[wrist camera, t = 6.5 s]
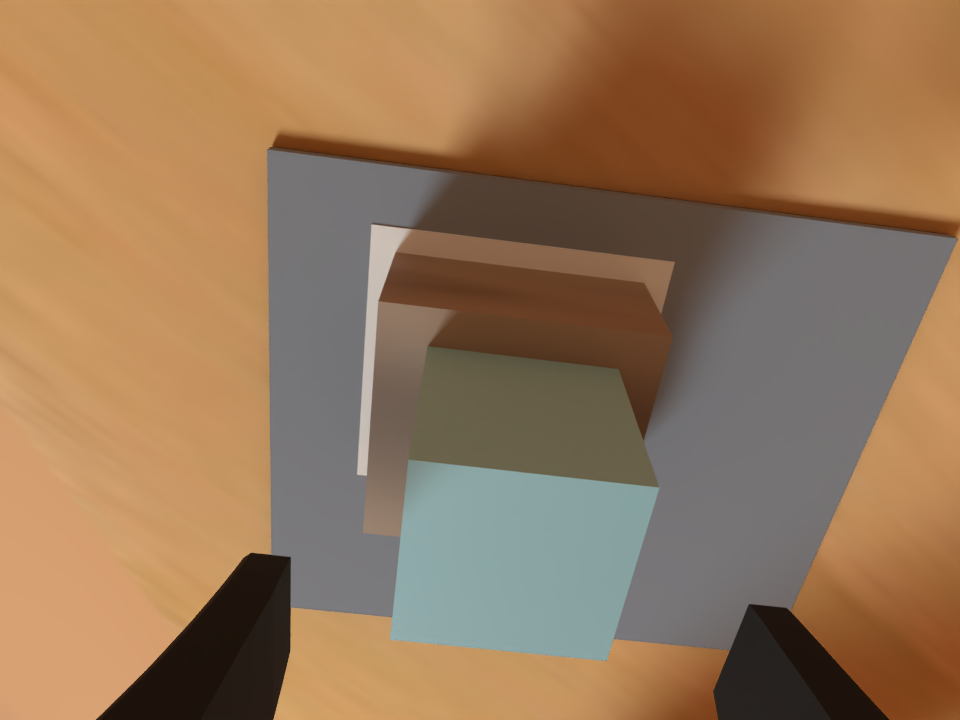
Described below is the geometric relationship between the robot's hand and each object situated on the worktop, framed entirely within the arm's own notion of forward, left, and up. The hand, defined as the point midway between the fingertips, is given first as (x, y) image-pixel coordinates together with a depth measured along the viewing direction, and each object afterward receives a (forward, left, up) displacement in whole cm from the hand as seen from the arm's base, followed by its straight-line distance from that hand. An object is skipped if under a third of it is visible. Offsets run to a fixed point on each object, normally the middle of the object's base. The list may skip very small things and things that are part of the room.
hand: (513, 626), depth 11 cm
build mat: (-2, -2, -8) cm, 9 cm away
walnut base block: (0, 0, -8) cm, 8 cm away
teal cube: (0, 0, -5) cm, 5 cm away
